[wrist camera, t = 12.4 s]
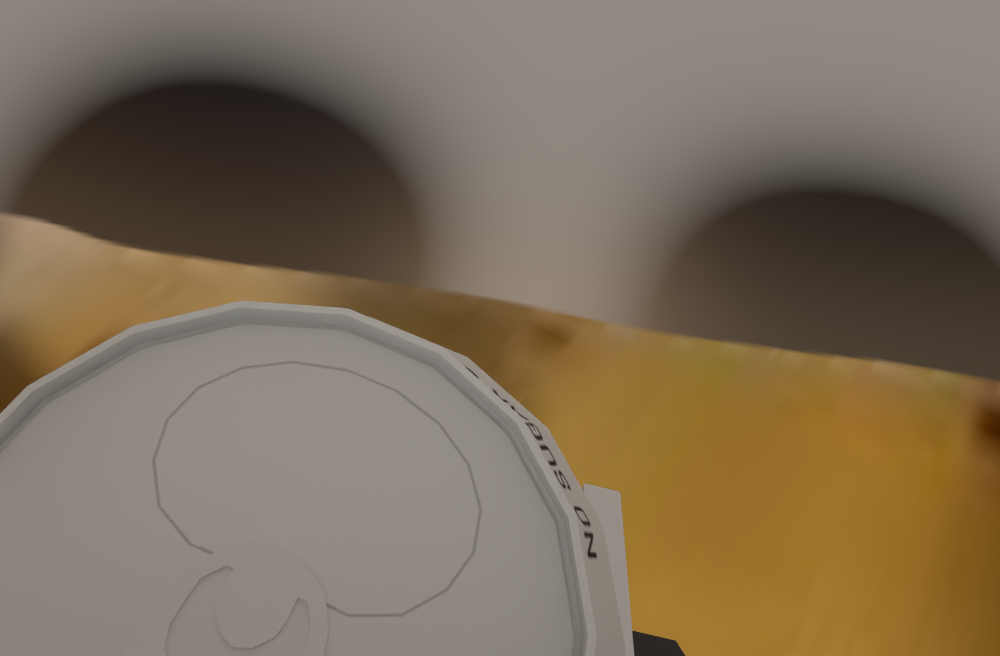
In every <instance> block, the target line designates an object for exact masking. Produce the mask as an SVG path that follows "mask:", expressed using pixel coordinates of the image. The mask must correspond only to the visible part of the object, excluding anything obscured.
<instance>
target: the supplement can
mask: <svg viewBox="0 0 1000 656" xmlns="http://www.w3.org/2000/svg"><path fill="white" fill-rule="evenodd" d="M625 652H626V648H625V643H624V637H623V632H622V626H621V621H620V615H619V610H618V604H617V599H616V593H615V588H614V582H613V577H612V571H611V566H610V560H609V555H608V550H607V544H606V539H605V533H604V528H603V526H602V524H601V522H600V520H599V518H598V517H597V515H596V513H595V511H594V510H593V508H592V506H591V504H590V502H589V501H588V499H587V497H586V495H585V493H584V492H583V490H582V488H581V486H580V485H579V483H578V481H577V479H576V477H575V476H574V474H573V472H572V470H571V468H570V467H569V465H568V463H567V461H566V460H565V458H564V456H563V454H562V452H561V451H560V449H559V447H558V445H557V443H556V442H555V440H554V438H553V436H552V435H551V433H550V431H549V429H548V428H547V427H546V426H545V425H544V424H543V423H542V422H540V421H539V420H538V419H537V418H536V417H535V416H534V415H533V414H531V413H530V412H529V411H528V410H527V409H526V408H525V407H524V406H522V405H521V404H520V403H519V402H518V401H517V400H516V399H514V398H513V397H512V396H511V395H510V394H509V393H508V392H507V391H505V390H504V389H503V388H502V387H501V386H500V385H499V384H498V383H496V382H495V381H494V380H493V379H492V378H491V377H490V376H489V375H487V374H486V373H485V372H484V371H483V370H482V369H481V368H479V367H478V366H477V365H476V364H475V363H474V362H473V361H472V360H470V359H469V358H468V357H466V356H464V355H461V354H459V353H457V352H454V351H452V350H449V349H447V348H444V347H442V346H440V345H437V344H435V343H432V342H430V341H427V340H425V339H423V338H420V337H418V336H415V335H413V334H411V333H408V332H406V331H403V330H401V329H398V328H396V327H394V326H391V325H389V324H386V323H384V322H381V321H379V320H377V319H374V318H372V317H368V316H365V315H363V314H360V313H358V312H356V311H353V310H351V309H348V308H338V307H324V306H310V305H296V304H281V303H267V302H253V301H238V302H233V303H229V304H225V305H221V306H216V307H212V308H208V309H204V310H199V311H195V312H191V313H187V314H182V315H178V316H174V317H170V318H165V319H161V320H157V321H153V322H148V323H144V324H140V325H136V326H132V327H130V328H128V329H126V330H125V331H123V332H121V333H119V334H118V335H116V336H114V337H112V338H111V339H109V340H107V341H105V342H104V343H102V344H100V345H98V346H97V347H95V348H93V349H91V350H90V351H88V352H86V353H84V354H83V355H81V356H79V357H77V358H75V359H74V360H72V361H70V362H68V363H67V364H65V365H63V366H61V367H60V368H58V369H56V370H54V371H53V372H51V373H49V374H47V375H46V376H44V377H42V378H40V379H39V380H37V381H35V382H33V383H32V384H30V385H28V386H27V387H26V388H25V389H24V390H23V391H22V392H21V393H20V394H19V395H18V396H17V397H16V398H15V399H14V400H13V401H12V402H11V403H10V404H9V405H8V406H7V407H6V408H5V409H4V410H3V411H2V412H1V413H0V656H625Z"/></svg>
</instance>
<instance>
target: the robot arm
mask: <svg viewBox="0 0 1000 656" xmlns="http://www.w3.org/2000/svg"><path fill="white" fill-rule="evenodd" d="M582 490H583V492H584V493H585V495H586V497H587V499H588V501H589V502H590V504H591V506H592V508H593V510H594V511H595V513H596V515H597V517H598V518H599V520H600V522H601V524H602V526H603V528H604V533H605V539H606V544H607V550H608V555H609V560H610V566H611V571H612V577H613V582H614V588H615V593H616V599H617V604H618V610H619V615H620V621H621V626H622V632H623V637H624V643H625V648H626V652H625V656H685V655H684V653H683V652H682V650H681V648H680V647H679V645H678V644H677V642H676V641H674V640H670V639H666V638H661V637H657V636H653V635H649V634H644V633H640V632H636V631H632V623H631V612H630V600H629V589H628V577H627V566H626V554H625V543H624V531H623V520H622V508H621V496H620V492H619V491H615V490H610V489H606V488H602V487H597V486H593V485H589V484H584V485H583V489H582Z"/></svg>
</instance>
